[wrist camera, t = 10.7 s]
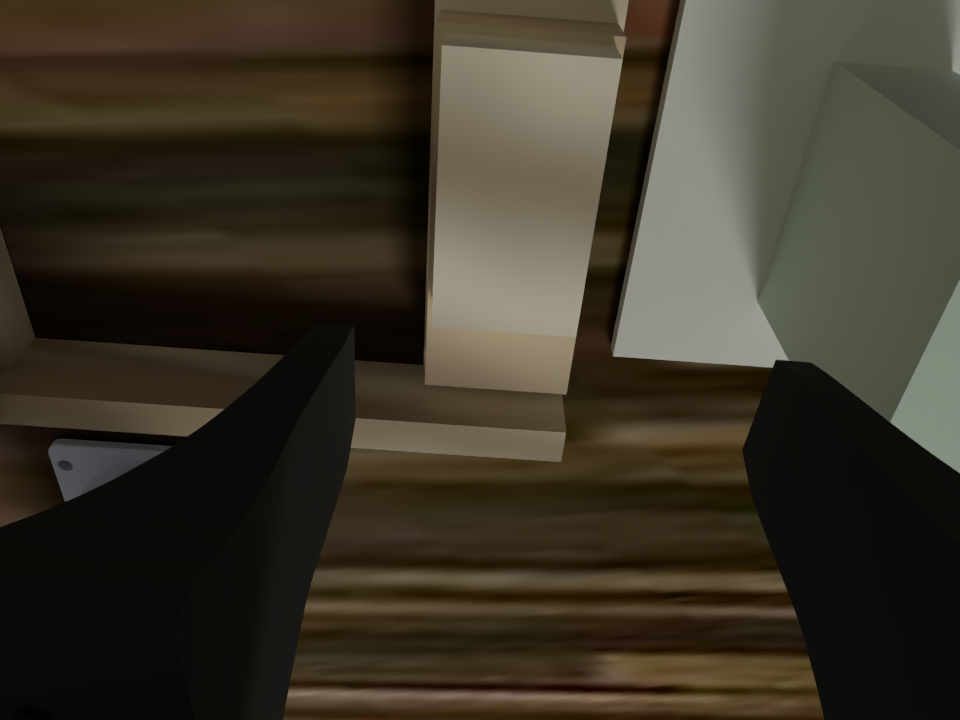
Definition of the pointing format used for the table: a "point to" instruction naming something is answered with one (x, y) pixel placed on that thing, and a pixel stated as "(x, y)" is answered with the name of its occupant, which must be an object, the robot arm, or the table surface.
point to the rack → (450, 261)
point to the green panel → (878, 249)
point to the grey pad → (745, 159)
